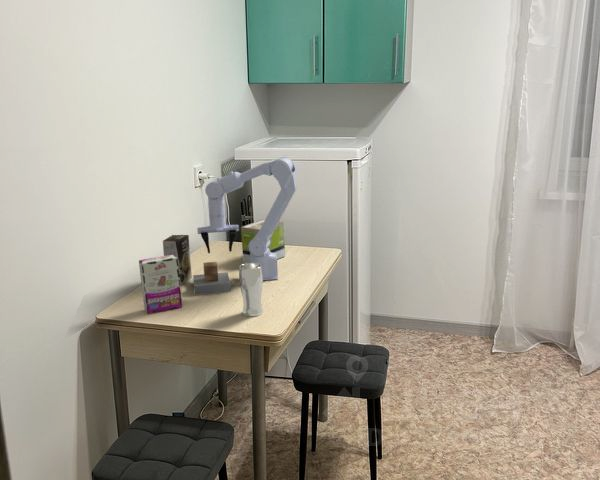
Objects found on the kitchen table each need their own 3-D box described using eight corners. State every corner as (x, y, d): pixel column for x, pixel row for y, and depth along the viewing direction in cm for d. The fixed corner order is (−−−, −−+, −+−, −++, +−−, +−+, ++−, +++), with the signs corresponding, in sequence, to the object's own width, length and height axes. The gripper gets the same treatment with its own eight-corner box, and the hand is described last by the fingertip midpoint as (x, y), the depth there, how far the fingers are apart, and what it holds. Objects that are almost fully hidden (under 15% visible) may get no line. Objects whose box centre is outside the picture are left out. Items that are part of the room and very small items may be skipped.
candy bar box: (178, 302, 189) (173, 253, 185) (182, 307, 185) (178, 257, 180) (143, 309, 184) (138, 259, 180) (147, 314, 180) (141, 263, 176)
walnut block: (217, 276, 204) (216, 261, 202) (218, 280, 200) (217, 265, 198) (204, 278, 203) (203, 262, 202) (204, 282, 199) (203, 266, 197)
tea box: (266, 253, 242) (264, 218, 238) (285, 256, 236) (284, 221, 232) (242, 262, 230) (240, 225, 226) (262, 266, 224) (260, 228, 220)
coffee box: (182, 285, 205) (179, 241, 201) (165, 285, 206) (161, 240, 202) (192, 277, 214) (189, 234, 209) (176, 276, 215) (172, 234, 211)
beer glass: (241, 309, 182) (238, 263, 178) (263, 308, 182) (261, 261, 178) (241, 317, 175) (238, 269, 171) (264, 316, 176) (262, 268, 172)
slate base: (228, 280, 209) (227, 272, 208) (230, 291, 198) (230, 283, 197) (193, 283, 207) (193, 275, 206) (194, 294, 196) (193, 286, 195)
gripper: (197, 218, 203) (199, 256, 206) (239, 215, 205) (241, 252, 209) (196, 214, 209) (198, 251, 213) (236, 211, 212) (238, 247, 216)
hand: (219, 251), depth 211 cm, fingers open, 7 cm apart
